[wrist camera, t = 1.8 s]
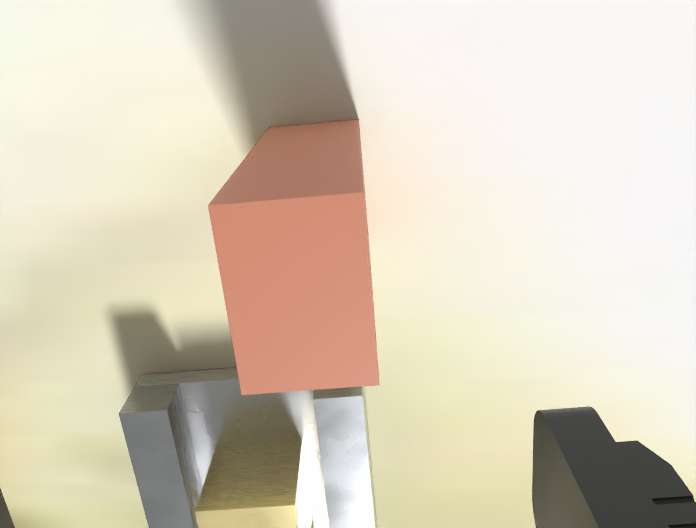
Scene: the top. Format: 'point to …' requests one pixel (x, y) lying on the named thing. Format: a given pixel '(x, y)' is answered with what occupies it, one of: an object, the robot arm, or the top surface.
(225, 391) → the slot bed
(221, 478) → the tan cubic piece
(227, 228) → the pink rectangular block
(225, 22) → the top surface
